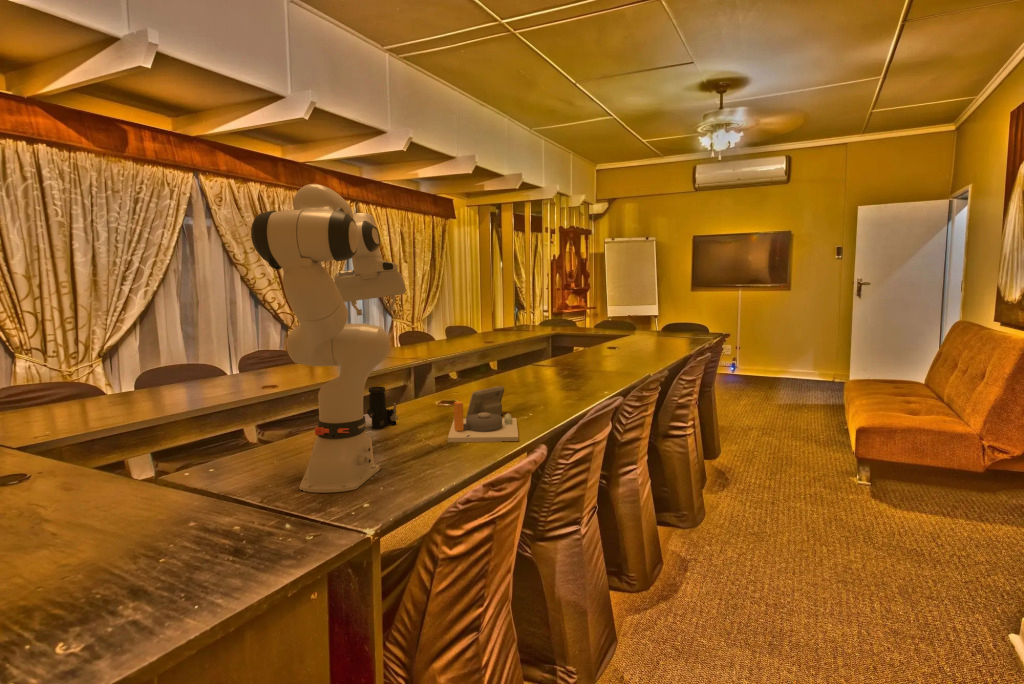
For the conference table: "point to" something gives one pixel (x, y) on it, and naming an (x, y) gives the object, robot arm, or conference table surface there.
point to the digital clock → (486, 401)
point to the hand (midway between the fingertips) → (375, 313)
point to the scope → (380, 409)
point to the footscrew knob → (475, 420)
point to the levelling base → (487, 433)
